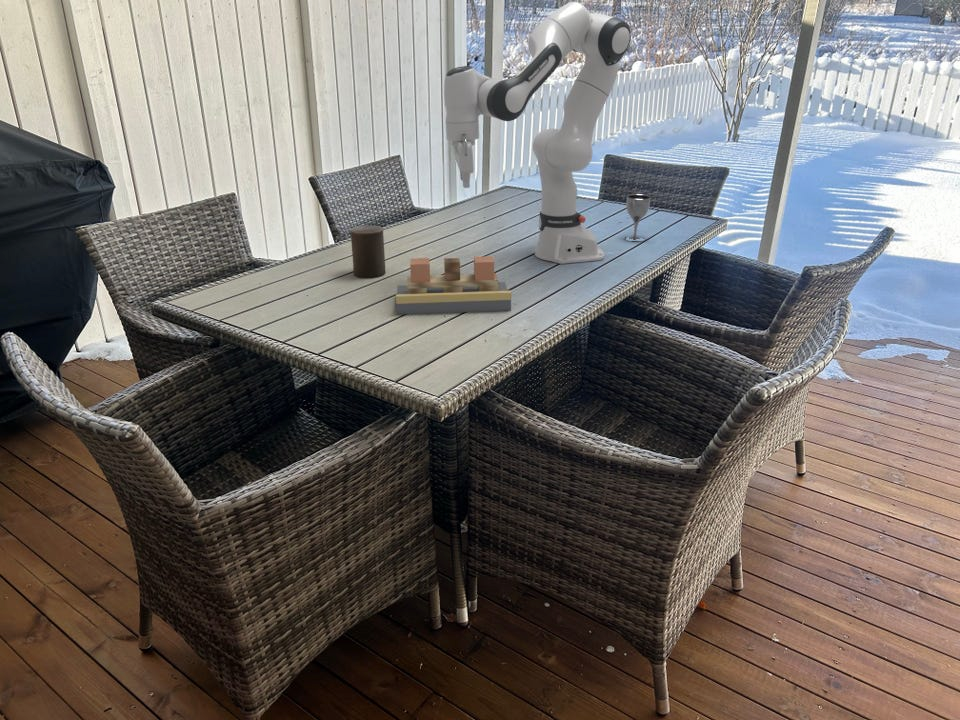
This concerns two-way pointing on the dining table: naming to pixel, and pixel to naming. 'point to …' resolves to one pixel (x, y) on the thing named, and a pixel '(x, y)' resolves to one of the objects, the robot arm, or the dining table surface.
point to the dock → (453, 300)
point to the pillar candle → (368, 251)
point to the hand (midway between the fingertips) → (465, 183)
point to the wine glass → (637, 209)
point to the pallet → (452, 280)
